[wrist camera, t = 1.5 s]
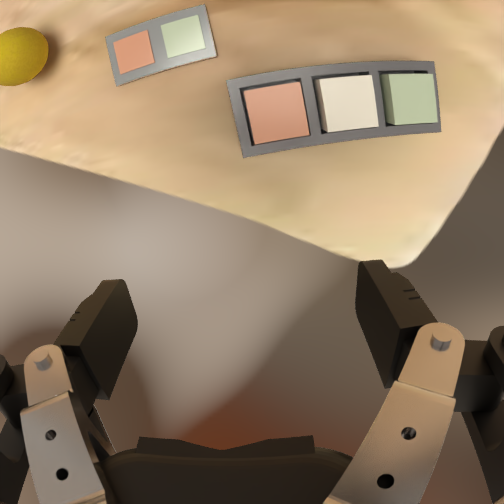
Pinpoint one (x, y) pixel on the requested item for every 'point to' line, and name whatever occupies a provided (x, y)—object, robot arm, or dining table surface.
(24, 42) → the lemon
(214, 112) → the dining table surface
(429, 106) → the key sage
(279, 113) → the key terracotta
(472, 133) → the dining table surface
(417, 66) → the keypad
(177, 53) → the tile
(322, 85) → the key cream
